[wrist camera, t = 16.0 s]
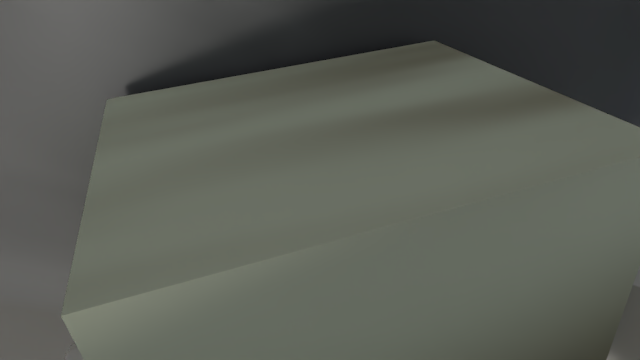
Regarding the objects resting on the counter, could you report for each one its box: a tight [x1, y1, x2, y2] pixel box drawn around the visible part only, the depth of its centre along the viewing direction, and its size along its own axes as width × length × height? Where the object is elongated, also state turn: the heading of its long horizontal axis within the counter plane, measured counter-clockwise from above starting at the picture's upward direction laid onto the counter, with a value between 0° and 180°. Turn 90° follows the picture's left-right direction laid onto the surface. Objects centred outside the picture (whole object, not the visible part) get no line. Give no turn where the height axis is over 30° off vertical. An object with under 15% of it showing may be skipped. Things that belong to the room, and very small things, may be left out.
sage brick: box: [61, 41, 640, 360], centre depth 8 cm, size 8×6×5 cm
